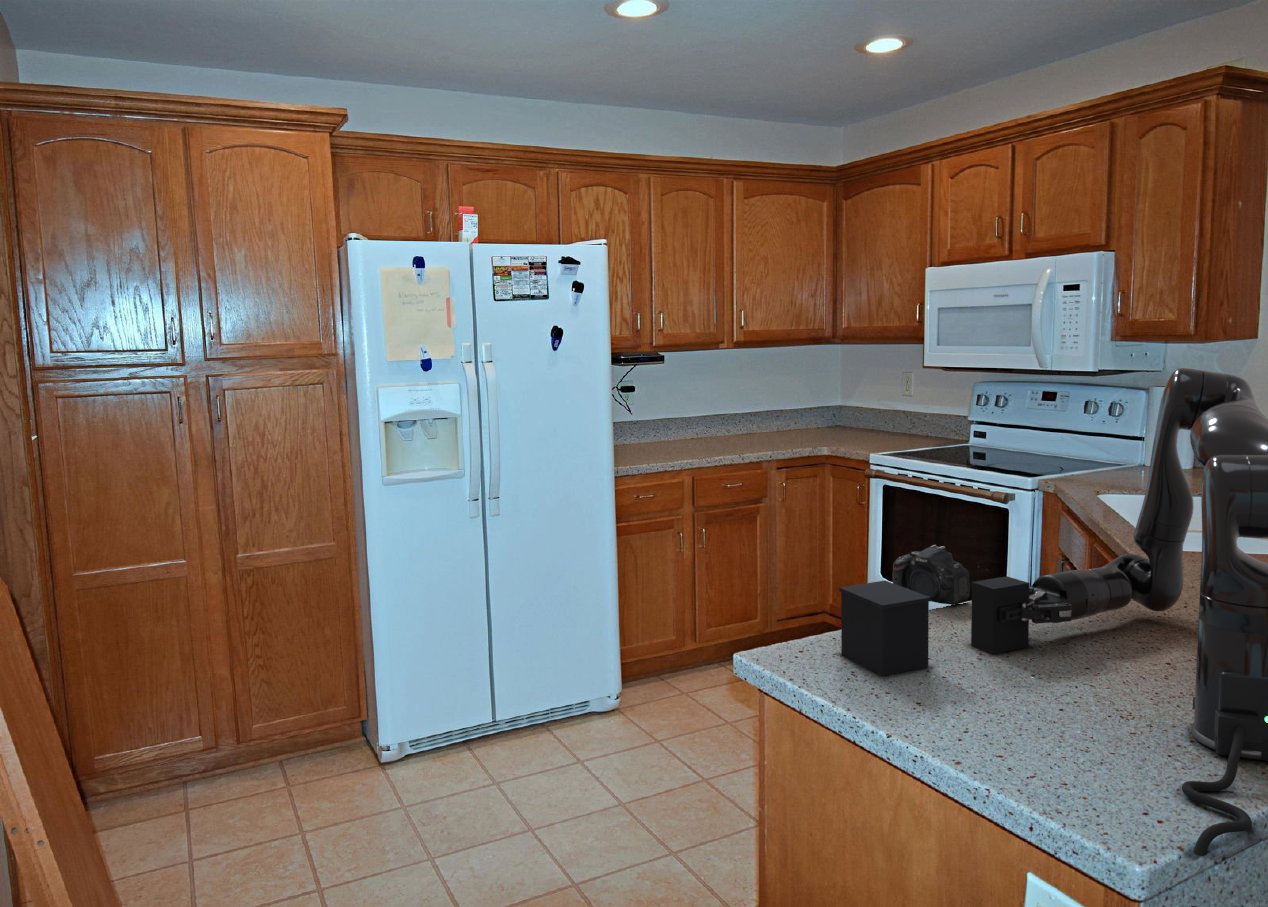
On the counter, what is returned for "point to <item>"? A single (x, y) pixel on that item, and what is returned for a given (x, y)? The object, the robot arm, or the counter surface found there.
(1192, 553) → the counter surface
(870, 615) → the black lidded box
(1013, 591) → the upright black block
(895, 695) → the counter surface
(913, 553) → the camera
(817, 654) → the counter surface
